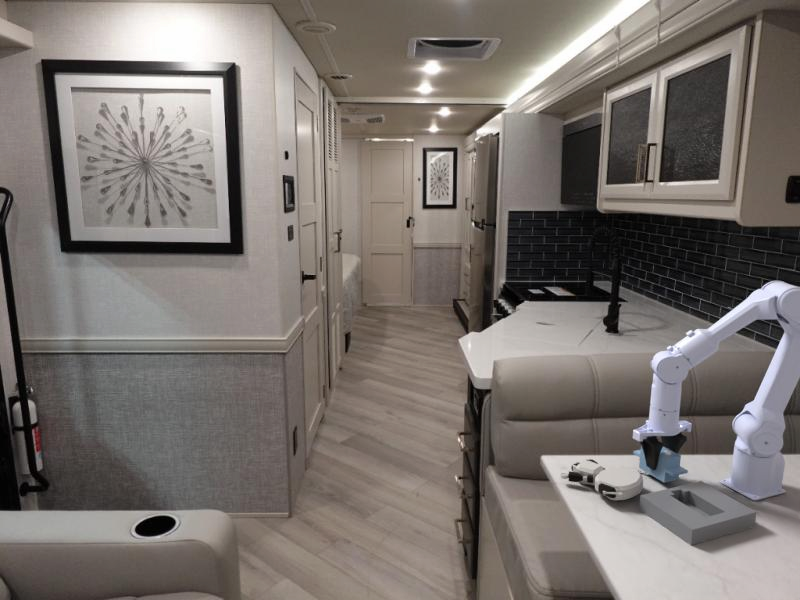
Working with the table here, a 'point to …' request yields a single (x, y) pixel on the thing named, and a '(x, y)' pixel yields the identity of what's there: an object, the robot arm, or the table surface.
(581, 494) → the table surface
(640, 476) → the robot toy
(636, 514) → the table surface
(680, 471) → the block
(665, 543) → the table surface
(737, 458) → the robot arm
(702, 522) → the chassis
